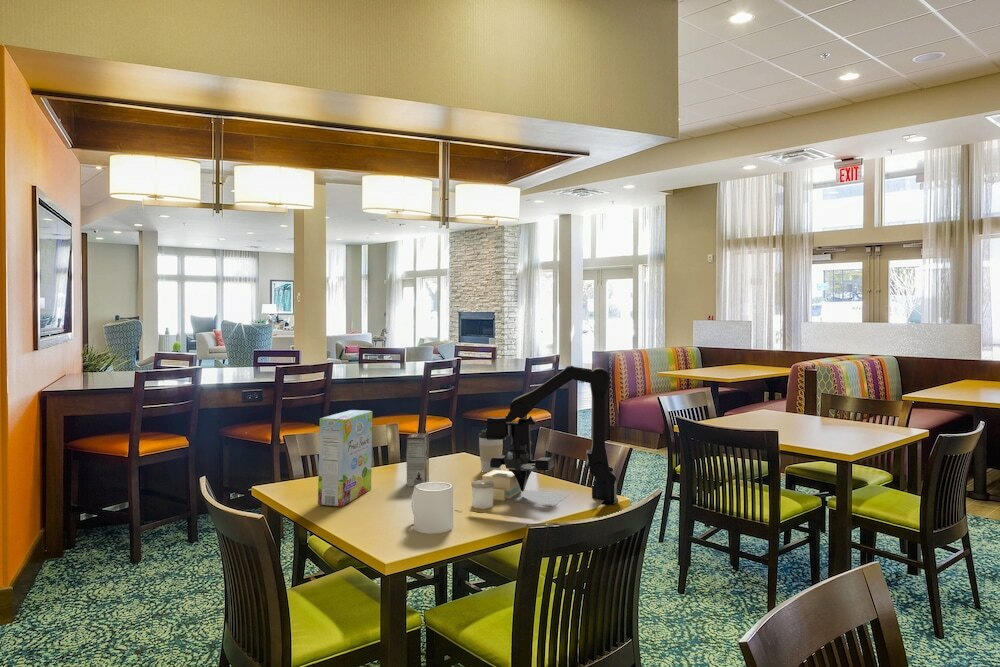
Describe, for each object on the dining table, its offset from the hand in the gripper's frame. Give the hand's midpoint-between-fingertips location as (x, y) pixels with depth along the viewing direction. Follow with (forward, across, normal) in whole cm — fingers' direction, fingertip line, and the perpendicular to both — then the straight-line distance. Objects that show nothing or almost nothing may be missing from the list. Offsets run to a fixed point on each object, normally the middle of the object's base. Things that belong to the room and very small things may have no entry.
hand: (522, 491), depth 197 cm
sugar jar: (+2, -7, -14) cm, 16 cm away
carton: (+1, -7, 0) cm, 7 cm away
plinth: (+3, 0, 0) cm, 3 cm away
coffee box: (+2, -40, +6) cm, 40 cm away
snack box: (+1, -51, -18) cm, 54 cm away
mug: (+2, -13, -33) cm, 36 cm away
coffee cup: (+2, -25, +32) cm, 41 cm away
